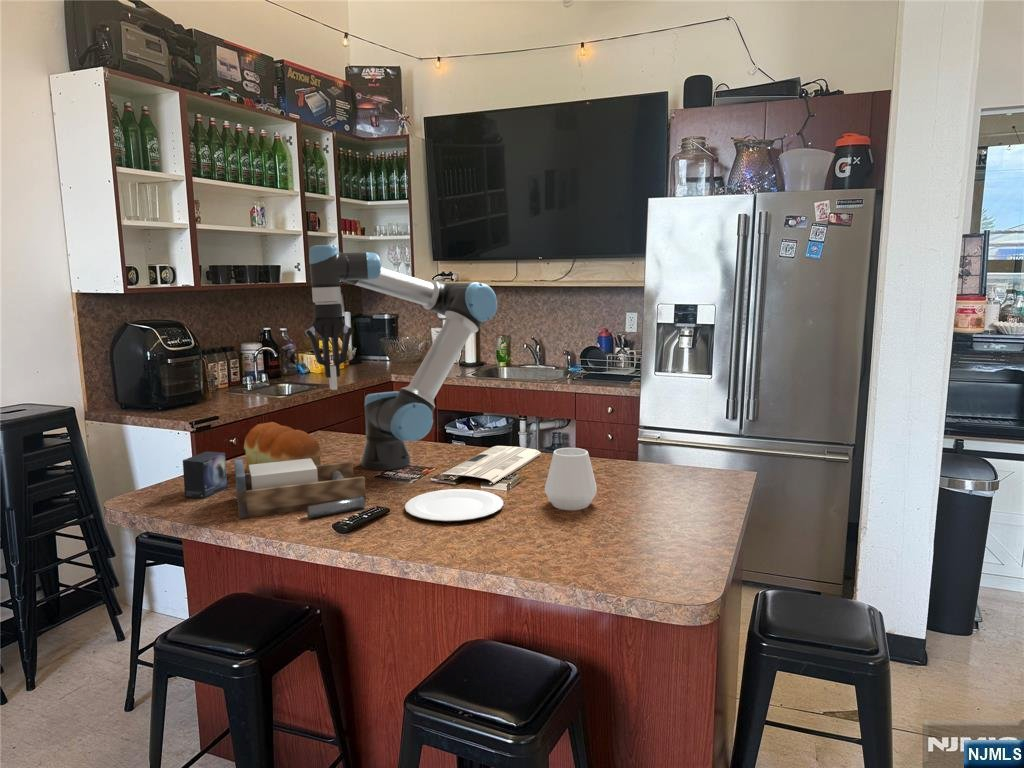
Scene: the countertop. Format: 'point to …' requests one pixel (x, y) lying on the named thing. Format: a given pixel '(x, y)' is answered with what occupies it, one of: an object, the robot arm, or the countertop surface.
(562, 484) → the cup
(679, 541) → the countertop surface
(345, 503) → the roller
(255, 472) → the slab
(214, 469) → the small box
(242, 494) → the roller bed
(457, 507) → the plate
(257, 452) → the bread
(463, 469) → the newspaper
